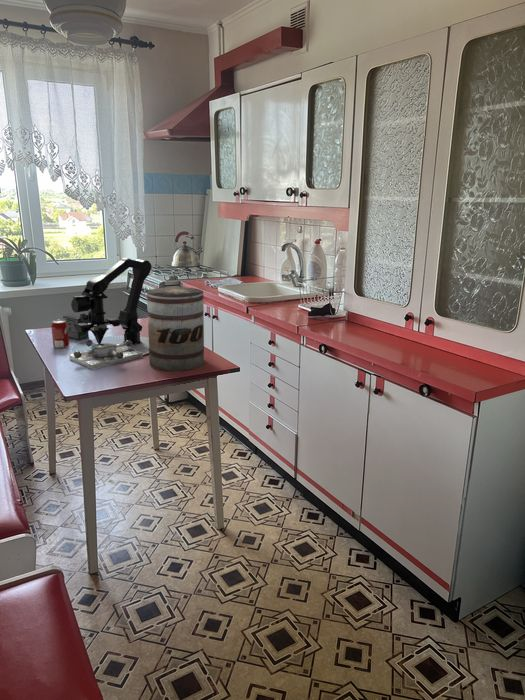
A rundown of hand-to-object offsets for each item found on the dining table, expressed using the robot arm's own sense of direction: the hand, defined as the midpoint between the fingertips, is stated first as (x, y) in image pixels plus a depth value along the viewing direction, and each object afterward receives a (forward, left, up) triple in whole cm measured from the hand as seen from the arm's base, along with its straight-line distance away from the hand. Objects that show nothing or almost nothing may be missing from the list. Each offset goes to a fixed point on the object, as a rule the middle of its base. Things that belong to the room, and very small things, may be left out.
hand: (99, 343), depth 234 cm
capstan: (+5, +12, -1) cm, 13 cm away
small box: (-3, -26, -3) cm, 26 cm away
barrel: (-14, +37, -3) cm, 40 cm away
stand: (+4, +12, -3) cm, 13 cm away
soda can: (+10, -16, -3) cm, 19 cm away
